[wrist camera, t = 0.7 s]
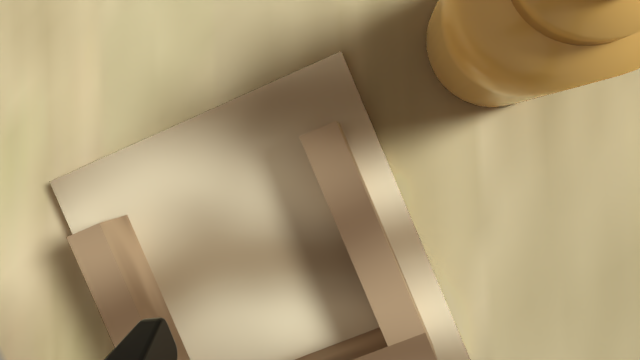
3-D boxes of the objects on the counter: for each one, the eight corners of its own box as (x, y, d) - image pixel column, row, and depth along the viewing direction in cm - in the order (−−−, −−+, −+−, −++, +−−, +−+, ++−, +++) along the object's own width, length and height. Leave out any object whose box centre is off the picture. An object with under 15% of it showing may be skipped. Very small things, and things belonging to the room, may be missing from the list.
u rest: (468, 355, 23) (482, 387, 20) (179, 460, 24) (153, 504, 21) (341, 53, 22) (337, 39, 19) (57, 180, 24) (12, 185, 21)
